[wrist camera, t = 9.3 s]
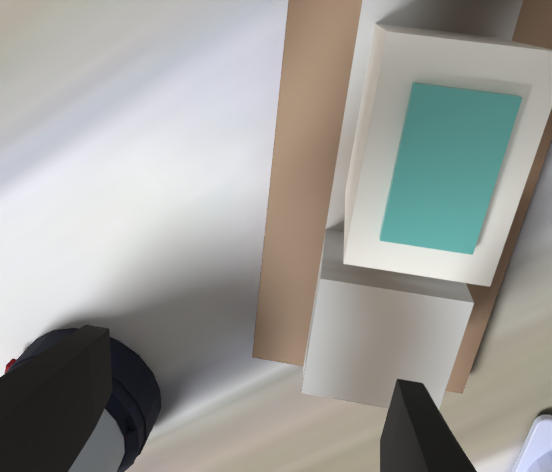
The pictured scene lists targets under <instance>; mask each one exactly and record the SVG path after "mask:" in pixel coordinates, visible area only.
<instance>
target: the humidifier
mask: <svg viewBox="0 0 552 472" xmlns="http://www.w3.org/2000/svg"><path fill="white" fill-rule="evenodd" d="M77 330H78V329H76V328H71V329H63V330H55V331H51V332H49V333H47V334H45V335H43V336H41V337H39V338H38V339H36V340H35V341H34V342H33V343H32V344H31V345H30V346H29V347H28V348H27V349H26V350H25V352H24V353H23V354H22V355H21V356H20V357H19V358H18V359H17V360H16V359H12V360H11V361H10V362H9V363H8V364H7V365H6V369H5V374H7V373H8V372H10V371H12V370H14V369H15V368H17V367H18V366H20V365H22V364H23V363H25V362H27V361H28V360H30V359H32V358H33V357H35V356H36V355H38V354H40V353H41V352H43V351H45V350H46V349H48V348H49V347H51V346H53V345H54V344H56V343H57V342H59V341H60V340H62V339H64V338H65V337H67V336H68V335H70V334H72V333H73V332H75V331H77ZM109 338H110V337H109ZM110 355H111V373H112V393H111V395H110V398H109V400H108V402H107V404H106V407H105V409H104V411H103V413H102V415H101V417H100V419H99V421H98V423H97V425H96V428H95V429H94V431H93V433H92V434H91V436H90V438H89V439H88V441H87V442H86V444H85V446H84V447H83V449H82V450H81V452H80V454H79V455H78V457H77V458H76V460H75V462H74V463H73V465H72V466H71V468H70V469H69V471H68V472H124V471H126V470H127V469H128V468H129V467H130V466H131V465H132V464H133V463H134V461H135V459H136V457H137V456H138V455H140V453H141V451H142V449H143V447H144V445H145V443H146V441H147V438H148V436H149V434H150V432H151V430H152V428H153V426H154V424H155V421H156V419H157V416H158V414H159V412H160V409H161V395H160V389H159V387H158V384H157V382H156V379H155V377H154V374H153V372H152V371H151V370H150V369H149V368H148V366H147V365H146V364H145V363H144V361H143V360H142V359H141V358H140V357H139V355H137V354H136V353H135V352H133V351H132V350H130V349H129V348H128V347H126V346H125V345H124V344H122V343H121V342H120V341H117V340H115V339H113V338H110ZM5 374H4V375H5Z"/></svg>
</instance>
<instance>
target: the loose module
mask: <svg viewBox="0 0 552 472" xmlns="http://www.w3.org/2000/svg"><path fill="white" fill-rule="evenodd" d="M551 108H552V49H547V48H543V47H538V46H533V45H529V44H524V43H519V42H515V41H510V40H505V39H500V38H495V37H486V36H478V35H469V34H461V33H452V32H444V31H436V30H427V29H419V28H410V27H402V26H393V25H385V24H376V23H375V26H374V31H373V37H372V43H371V48H370V54H369V60H368V65H367V71H366V77H365V82H364V88H363V94H362V99H361V105H360V111H359V116H358V122H357V128H356V133H355V139H354V145H353V150H352V156H351V162H350V167H349V173H348V179H347V184H346V190H345V222H344V258H343V264H348V265H355V266H361V267H367V268H374V269H380V270H386V271H393V272H399V273H405V274H412V275H418V276H425V277H431V278H437V279H444V280H450V281H456V282H463V283H469V284H475V285H482V286H488V287H490V285H491V283H492V280H493V277H494V274H495V271H496V268H497V265H498V262H499V259H500V256H501V254H502V251H503V248H504V245H505V242H506V239H507V236H508V233H509V230H510V227H511V225H512V222H513V219H514V216H515V213H516V210H517V207H518V204H519V201H520V198H521V195H522V193H523V190H524V187H525V184H526V181H527V178H528V175H529V172H530V169H531V166H532V164H533V161H534V158H535V155H536V152H537V149H538V146H539V143H540V140H541V137H542V135H543V132H544V129H545V126H546V123H547V120H548V117H549V114H550V111H551Z"/></svg>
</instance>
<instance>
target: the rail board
mask: <svg viewBox="0 0 552 472" xmlns="http://www.w3.org/2000/svg"><path fill="white" fill-rule="evenodd" d="M375 23H376V24H385V25H393V26H402V27H410V28H419V29H427V30H436V31H444V32H452V33H461V34H469V35H478V36H486V37H495V38H500V39H505V40H510V41H515V42H519V43H524V44H529V45H533V46H538V47H543V48H547V49H552V0H289V2H288V12H287V22H286V31H285V41H284V51H283V61H282V71H281V80H280V90H279V100H278V110H277V120H276V129H275V139H274V149H273V159H272V168H271V178H270V188H269V198H268V208H267V217H266V227H265V237H264V247H263V257H262V266H261V276H260V286H259V296H258V306H257V315H256V325H255V335H254V345H253V354H252V357H253V358H259V359H265V360H271V361H277V362H282V363H288V364H294V365H300V366H303V373H304V377H303V385H302V393H304V394H310V395H316V396H321V397H327V398H332V399H338V400H344V401H349V402H355V403H361V404H366V405H372V406H378V407H383V408H389V406H390V402H391V399H392V395H393V391H394V388H395V384H396V380H397V379H403V380H408V381H414V382H420V383H423V384H424V385H425V387H426V388H427V390H428V392H429V394H430V396H431V397H432V399H433V401H434V403H435V405H436V406H437V408H438V410H439V408H440V405H441V402H442V399H443V396H444V393H445V391H450V392H456V393H463V390H464V388H465V385H466V382H467V379H468V376H469V373H470V371H471V368H472V365H473V362H474V359H475V356H476V354H477V351H478V348H479V345H480V342H481V339H482V337H483V334H484V331H485V328H486V325H487V322H488V319H489V317H490V314H491V311H492V308H493V305H494V302H495V300H496V297H497V294H498V291H499V288H500V285H501V283H502V280H503V277H504V274H505V271H506V268H507V266H508V263H509V260H510V257H511V254H512V251H513V248H514V246H515V243H516V240H517V237H518V234H519V231H520V229H521V226H522V223H523V220H524V217H525V214H526V212H527V209H528V206H529V203H530V200H531V197H532V195H533V192H534V189H535V186H536V183H537V180H538V177H539V175H540V172H541V169H542V166H543V163H544V160H545V158H546V155H547V152H548V149H549V146H550V143H551V141H552V108H551V111H550V114H549V117H548V120H547V123H546V126H545V129H544V132H543V135H542V137H541V140H540V143H539V146H538V149H537V152H536V155H535V158H534V161H533V164H532V166H531V169H530V172H529V175H528V178H527V181H526V184H525V187H524V190H523V193H522V195H521V198H520V201H519V204H518V207H517V210H516V213H515V216H514V219H513V222H512V225H511V227H510V230H509V233H508V236H507V239H506V242H505V245H504V248H503V251H502V254H501V256H500V259H499V262H498V265H497V268H496V271H495V274H494V277H493V280H492V283H491V285H490V287H488V286H482V285H475V284H469V283H463V282H456V281H450V280H444V279H437V278H431V277H425V276H418V275H412V274H405V273H399V272H393V271H386V270H380V269H374V268H367V267H361V266H355V265H348V264H343V258H344V222H345V190H346V184H347V179H348V173H349V167H350V162H351V156H352V150H353V145H354V139H355V133H356V128H357V122H358V116H359V111H360V105H361V99H362V94H363V88H364V82H365V77H366V71H367V65H368V60H369V54H370V48H371V43H372V37H373V31H374V26H375Z"/></svg>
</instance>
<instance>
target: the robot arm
mask: <svg viewBox="0 0 552 472" xmlns="http://www.w3.org/2000/svg"><path fill="white" fill-rule="evenodd" d="M111 393H112V373H111V355H110V338H109V329H107V328H101V327H95V326H89V325H85V326H83V327H82V328H80V329H78V330H77V331H75V332H73V333H72V334H70V335H68V336H67V337H65V338H64V339H62V340H60V341H59V342H57V343H56V344H54V345H53V346H51V347H49V348H48V349H46V350H45V351H43V352H41V353H40V354H38V355H36V356H35V357H33V358H32V359H30V360H28V361H27V362H25V363H23V364H22V365H20V366H18V367H17V368H15V369H14V370H12V371H10V372H8V373H7V374H5V375H3V376H1V377H0V472H68V471H69V469H70V468H71V466H72V465H73V463H74V462H75V460H76V458H77V457H78V455H79V454H80V452H81V450H82V449H83V447H84V446H85V444H86V442H87V441H88V439H89V438H90V436H91V434H92V433H93V431H94V429H95V428H96V425H97V423H98V421H99V419H100V417H101V415H102V413H103V411H104V409H105V407H106V404H107V402H108V400H109V398H110V395H111ZM380 472H477V471H476V470H475V468H474V467H473V465H472V464H471V462H470V460H469V459H468V457H467V456H466V454H465V453H464V451H463V450H462V448H461V446H460V445H459V443H458V442H457V440H456V439H455V437H454V435H453V434H452V432H451V430H450V429H449V427H448V425H447V424H446V422H445V420H444V419H443V417H442V415H441V413H440V412H439V410H438V408H437V406H436V405H435V403H434V401H433V399H432V397H431V396H430V394H429V392H428V390H427V388H426V387H425V385H424V384H423V383H420V382H414V381H408V380H403V379H397V380H396V384H395V388H394V391H393V395H392V399H391V402H390V406H389V410H388V413H387V417H386V421H385V425H384V428H383V432H382V436H381V439H380ZM511 472H552V415H540V416H538V417H537V418H536V419H535V420H534V422H533V425H532V427H531V429H530V431H529V433H528V436H527V438H526V440H525V442H524V445H523V447H522V449H521V451H520V453H519V456H518V458H517V460H516V462H515V465H514V467H513V469H512V471H511Z"/></svg>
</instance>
